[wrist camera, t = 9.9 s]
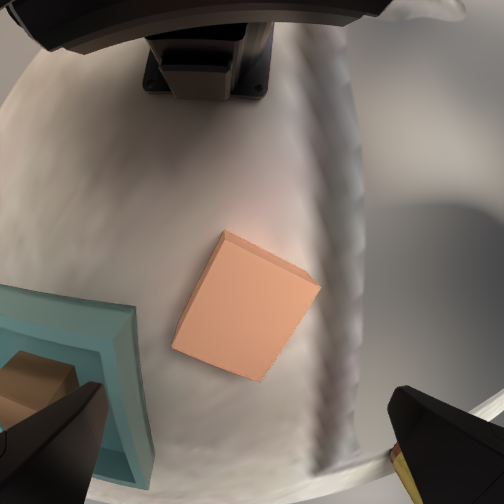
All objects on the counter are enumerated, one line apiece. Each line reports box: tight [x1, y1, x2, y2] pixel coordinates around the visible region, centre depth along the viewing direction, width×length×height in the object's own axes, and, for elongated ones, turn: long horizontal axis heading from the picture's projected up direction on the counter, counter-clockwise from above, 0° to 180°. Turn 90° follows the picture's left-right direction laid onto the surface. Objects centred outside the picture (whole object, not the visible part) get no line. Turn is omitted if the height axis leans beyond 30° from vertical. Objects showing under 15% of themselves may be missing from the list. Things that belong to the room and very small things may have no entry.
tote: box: [0, 284, 155, 490], centre depth 14 cm, size 14×14×4 cm
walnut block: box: [0, 350, 80, 431], centre depth 13 cm, size 5×5×5 cm
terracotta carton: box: [171, 230, 321, 382], centre depth 15 cm, size 6×5×3 cm
